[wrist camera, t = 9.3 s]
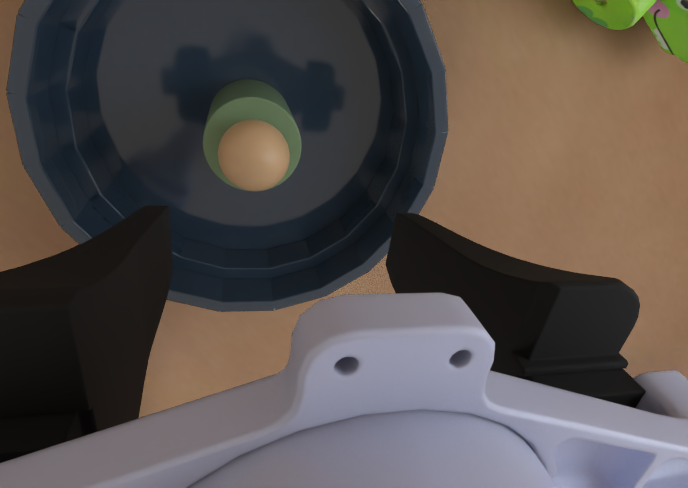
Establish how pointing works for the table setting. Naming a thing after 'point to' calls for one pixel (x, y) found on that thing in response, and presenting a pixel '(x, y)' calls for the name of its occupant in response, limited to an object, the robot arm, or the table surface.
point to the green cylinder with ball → (251, 136)
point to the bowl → (190, 119)
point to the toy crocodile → (659, 13)
